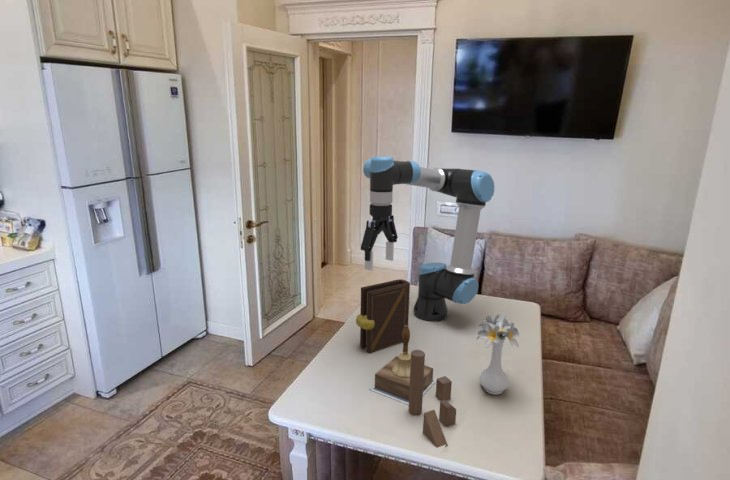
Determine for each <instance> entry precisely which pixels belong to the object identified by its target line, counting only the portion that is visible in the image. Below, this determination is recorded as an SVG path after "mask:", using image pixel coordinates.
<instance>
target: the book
mask: <svg viewBox="0 0 730 480" xmlns="http://www.w3.org/2000/svg"><path fill="white" fill-rule="evenodd" d="M410 290H411V283H410V281H407V280H406V279H401V278H400V279H395V280H390V281H385V282H380V283H375V284H371V285H367V286H362V287H360V313H359V314H358V315H357V316H356V318H355V324H356V325H357V327H359V328H360V329H359V330H360V331H359V338H360V339H359V347H360V349H366V353H367V354H368V355H370V354H373V353H376V352H379V351H382V350H385V349H388V348H390V347H394V346H397V345H400V344H403V340H402V332H403V329H404V326H405V325H408V326H409V314H410V310H409V309H410V293H411V291H410Z"/></svg>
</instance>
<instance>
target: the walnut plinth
mask: <svg viewBox="0 0 730 480" xmlns="http://www.w3.org/2000/svg"><path fill="white" fill-rule="evenodd" d="M398 356H399V355H396V356H395V357H394V358H392V359H391V360H389V362H388V363H386V364H385V365H384V366H382V367H381V368H380V369H379V370H378V371H377V372H376V373H375V374H374V385H375V388H377V389H379V390H382V391H385V392H387V393H390V394H392V395H395V396H398V397H400V398H403V399H405V400H408V401H409V388H410V377H405V378H404V377H399V376H397V375H395V374H394V373H393V372H392V368H393V367H394V366H395V365H396V363H397V361H398ZM433 378H434V367H430V366H428V365H425V364H424V381H423V391H424V390H425V389H426V388H427V387H428V386H429V385H430V384H431V383H432V382H433Z"/></svg>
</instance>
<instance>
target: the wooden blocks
mask: <svg viewBox="0 0 730 480" xmlns="http://www.w3.org/2000/svg"><path fill="white" fill-rule="evenodd" d="M410 355H411V366H410V388H409V405H408V413H409V415H411V416H414V417H415V416H416V417H417V416H420V415H421V414H422V413H423V421H422V434H423V435H424V436H425V437H426V438H427V439H428V440H429V441H430V442H431V443H432V445H434V447H435V448H437V449H438V448H441V447H442V446H444V448H447V447H448V446H449V445H448V442H447V439H446V436H445V433H444V431H443V428H442V426H441V424H442V425H443V426H444V427H446V428H447V427H451V426H453V425H456V420H457V419H456V417H457V408H456V407H455V406H453V405H452V404H451V403H450V402H449V401H450V400H451V399H452V397H451V395H452V382H453V381H452V380H451V379H449V377H447V376H442V377H438V378H436V379H437V381H436V383H435V385H436V387H435V398H437V399H438V400H439V416H437V413H436V411H435V409H432V410H429V411H425V412H423V397H424V396H423V381H424V365H425V363H426V362H425V357H426V352H425V351H423V350H421V349H413V350H411V352H410ZM440 423H441V424H440Z"/></svg>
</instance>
